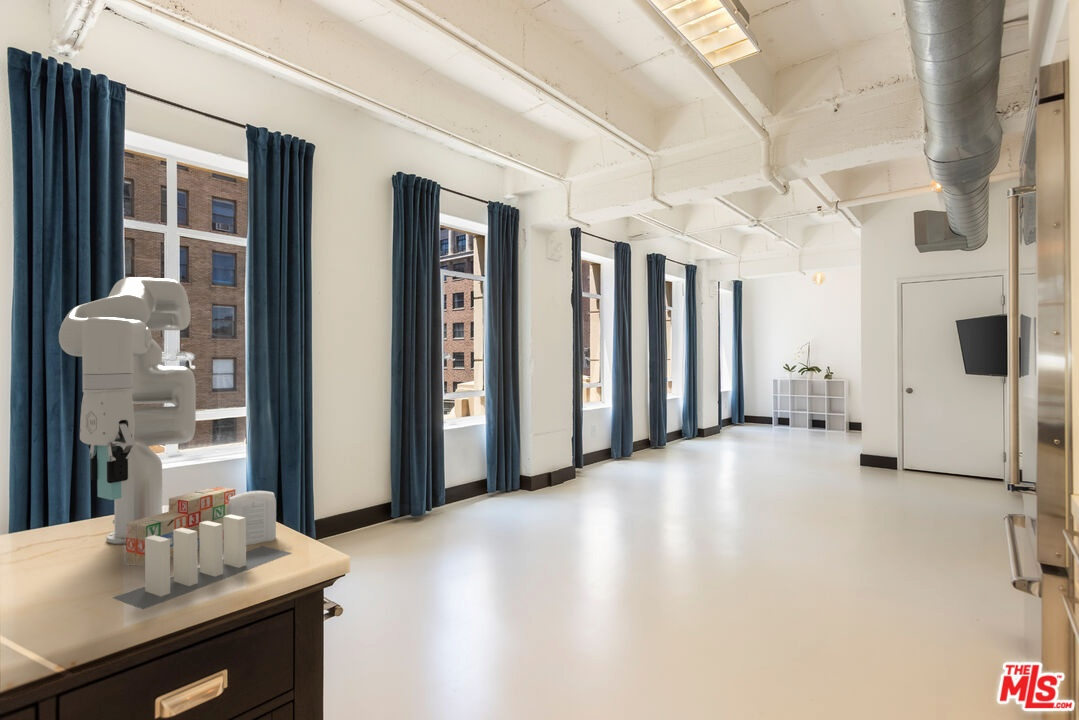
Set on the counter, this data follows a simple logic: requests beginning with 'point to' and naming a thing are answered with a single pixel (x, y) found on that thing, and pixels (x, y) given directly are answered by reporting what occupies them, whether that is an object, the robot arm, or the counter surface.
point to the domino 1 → (103, 486)
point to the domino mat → (201, 579)
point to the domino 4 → (211, 548)
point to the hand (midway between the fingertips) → (109, 478)
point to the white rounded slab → (256, 514)
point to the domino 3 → (185, 556)
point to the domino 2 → (157, 565)
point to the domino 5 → (234, 540)
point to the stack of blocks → (177, 520)
